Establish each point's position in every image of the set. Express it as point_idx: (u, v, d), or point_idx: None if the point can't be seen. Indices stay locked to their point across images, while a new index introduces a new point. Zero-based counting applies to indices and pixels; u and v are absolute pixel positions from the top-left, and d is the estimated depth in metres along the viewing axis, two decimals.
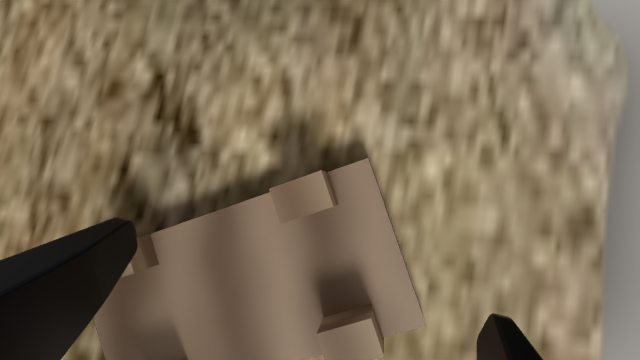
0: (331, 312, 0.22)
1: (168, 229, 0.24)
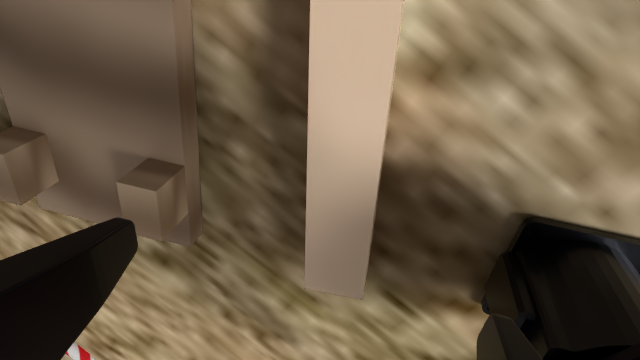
0: None
1: (7, 104, 0.20)
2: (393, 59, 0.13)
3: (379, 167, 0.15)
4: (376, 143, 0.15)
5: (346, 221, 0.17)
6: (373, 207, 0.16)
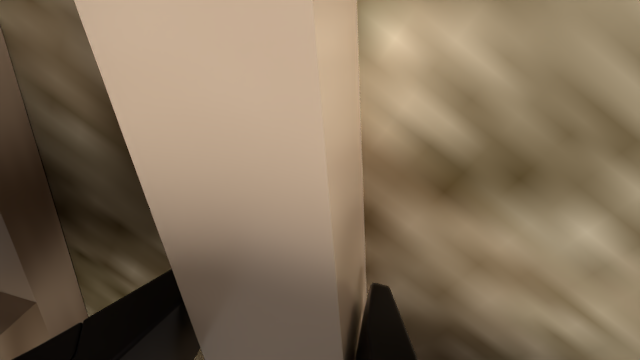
0: None
1: None
2: (325, 200, 0.05)
3: None
4: (327, 347, 0.07)
5: None
6: None
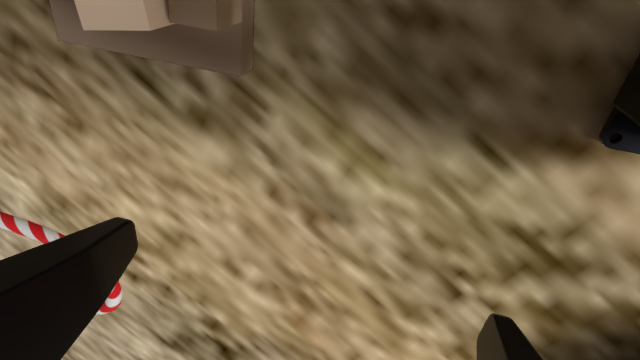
0: None
1: None
2: None
3: None
4: None
5: None
6: None
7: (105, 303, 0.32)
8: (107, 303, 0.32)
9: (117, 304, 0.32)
